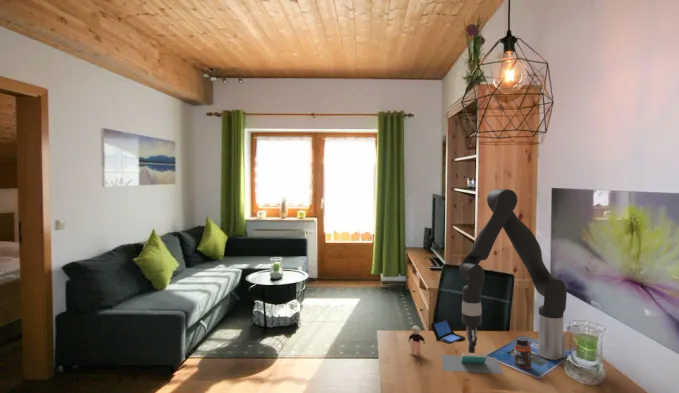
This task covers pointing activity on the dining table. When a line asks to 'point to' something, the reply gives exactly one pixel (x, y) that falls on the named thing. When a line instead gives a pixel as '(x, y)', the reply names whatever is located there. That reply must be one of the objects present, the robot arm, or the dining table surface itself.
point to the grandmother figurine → (416, 341)
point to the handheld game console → (445, 332)
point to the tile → (473, 358)
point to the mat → (470, 365)
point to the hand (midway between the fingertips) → (471, 353)
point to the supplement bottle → (522, 353)
